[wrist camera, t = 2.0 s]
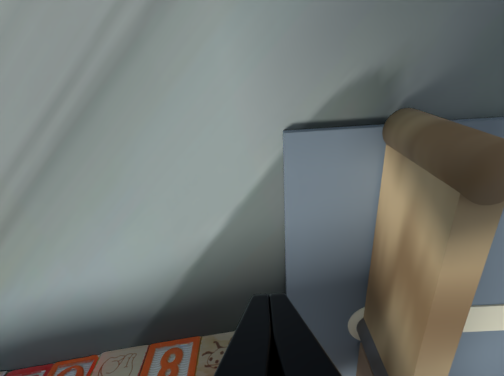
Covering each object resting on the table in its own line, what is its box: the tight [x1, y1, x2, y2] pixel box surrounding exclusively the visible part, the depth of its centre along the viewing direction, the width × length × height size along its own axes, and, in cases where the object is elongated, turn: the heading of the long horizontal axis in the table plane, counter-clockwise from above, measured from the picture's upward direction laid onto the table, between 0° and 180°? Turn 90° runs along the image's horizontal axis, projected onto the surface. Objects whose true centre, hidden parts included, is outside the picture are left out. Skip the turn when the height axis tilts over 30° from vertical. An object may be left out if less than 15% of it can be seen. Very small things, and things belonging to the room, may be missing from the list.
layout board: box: [283, 117, 504, 376], centre depth 15 cm, size 20×16×1 cm
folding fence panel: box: [356, 108, 504, 376], centre depth 11 cm, size 12×2×5 cm, turn 3°
